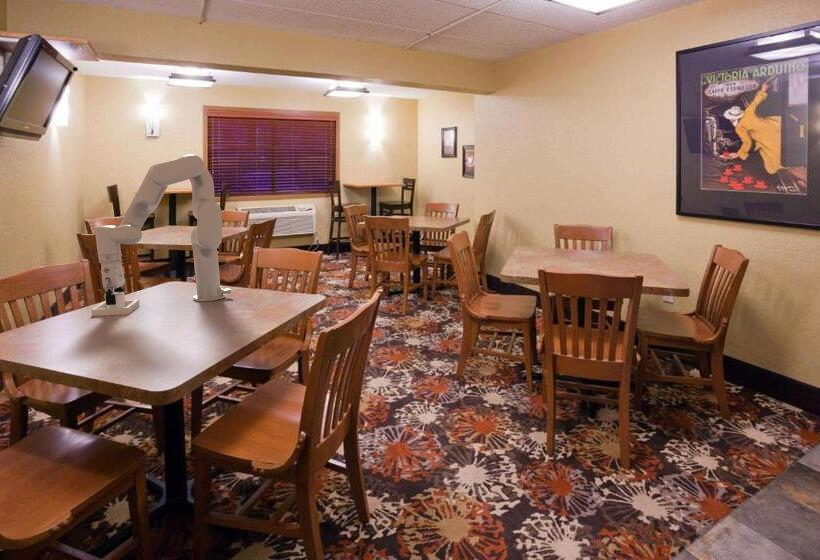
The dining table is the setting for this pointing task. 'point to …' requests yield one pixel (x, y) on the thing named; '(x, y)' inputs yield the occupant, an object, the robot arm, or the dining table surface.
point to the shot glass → (118, 300)
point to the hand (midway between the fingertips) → (115, 301)
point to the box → (103, 309)
